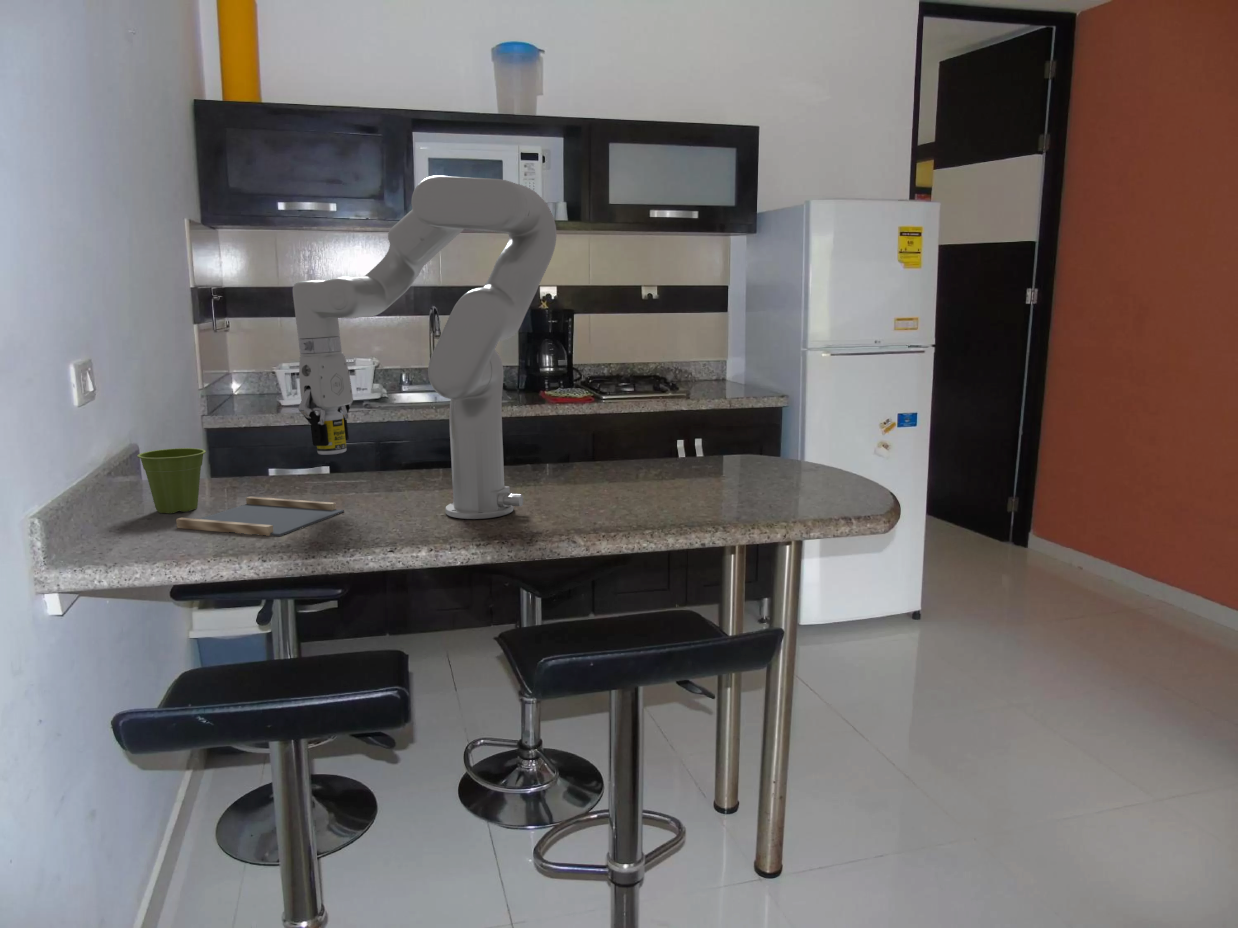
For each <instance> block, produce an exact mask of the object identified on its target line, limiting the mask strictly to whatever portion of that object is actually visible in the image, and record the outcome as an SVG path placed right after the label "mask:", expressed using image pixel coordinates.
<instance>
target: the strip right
mask: <svg viewBox="0 0 1238 928" xmlns="http://www.w3.org/2000/svg"><path fill="white" fill-rule="evenodd" d="M245 501H246V504H254V505H268V506H281V507H295V508H308V509H321V510H335V509H337V503H336V502H331V501H330V502H329V501H317V500H304V499H303V500H302V499H301V500H300V499H289V498H287V499H286V498H273V497H259V496H248V497H246V498H245Z"/></svg>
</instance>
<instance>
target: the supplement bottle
mask: <svg viewBox="0 0 1238 928" xmlns="http://www.w3.org/2000/svg"><path fill="white" fill-rule="evenodd" d="M316 407H317V408H320V406H317V405H316ZM318 413H319V412H317V413H316V415H317V416H318ZM324 424H326V425H327V432H328V441H329V444H328V445H327V446H316V451H317V454H318V455H322V456H325V455H337V454H343V453H345V452H346V451H347V440H346V438H345V428H344V418H343V414H342V413H340V412H338V407H335V408H330V409H325V417H324Z"/></svg>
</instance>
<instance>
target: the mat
mask: <svg viewBox="0 0 1238 928" xmlns="http://www.w3.org/2000/svg"><path fill="white" fill-rule="evenodd" d="M342 512H343V513H345V509H338V508H336V509H335V510H321V509H308V508H295V507H281V506H268V505H254V504H247V503H246V504H242V505H239V506H235V507H232V508H229V509H226V510H222V511H220V512H219V511H218V512H216V513H213V514H210V515H207V516H204V517H200V518H199V519H204V520H216V521H228V522H240V523H252V524H264V525H273V532H272V533H270V536H272V535H273V537H274V536H275V537H282V536H285V535H287V534H290V533H293V532H294V531H298V530H301V529H303V528H306V527H309V526H311V525H314V524H317V523H318V522H321V520H322V521H324V520H328V519H329V518H332V517H335V516H337V515H336V514H338V513H340V514H343V513H342ZM334 515H335V516H334ZM338 515H339V514H338ZM331 516H332V517H331ZM313 523H314V524H313ZM302 527H303V528H302ZM300 528H301V529H300ZM292 531H293V532H292ZM284 534H285V535H284Z"/></svg>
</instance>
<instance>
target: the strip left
mask: <svg viewBox="0 0 1238 928" xmlns="http://www.w3.org/2000/svg"><path fill="white" fill-rule="evenodd" d="M175 521H176V528H177V529H185V530H194V531H195V530H196V531H197V530H198V531H207V532H218V533H219V532H220V533H229V532H235V533H234V534H241V533H244V534H245V535H252V534H259V535H258V536H263V535H266V537H269V536H271V535H270V533H272V532H273V525H264V524H252V523H240V522H228V521H216V520H204V519H200V518H192V517H191V518H188V517H179V518H175ZM246 533H247V534H246ZM244 534H243V535H244Z"/></svg>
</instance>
